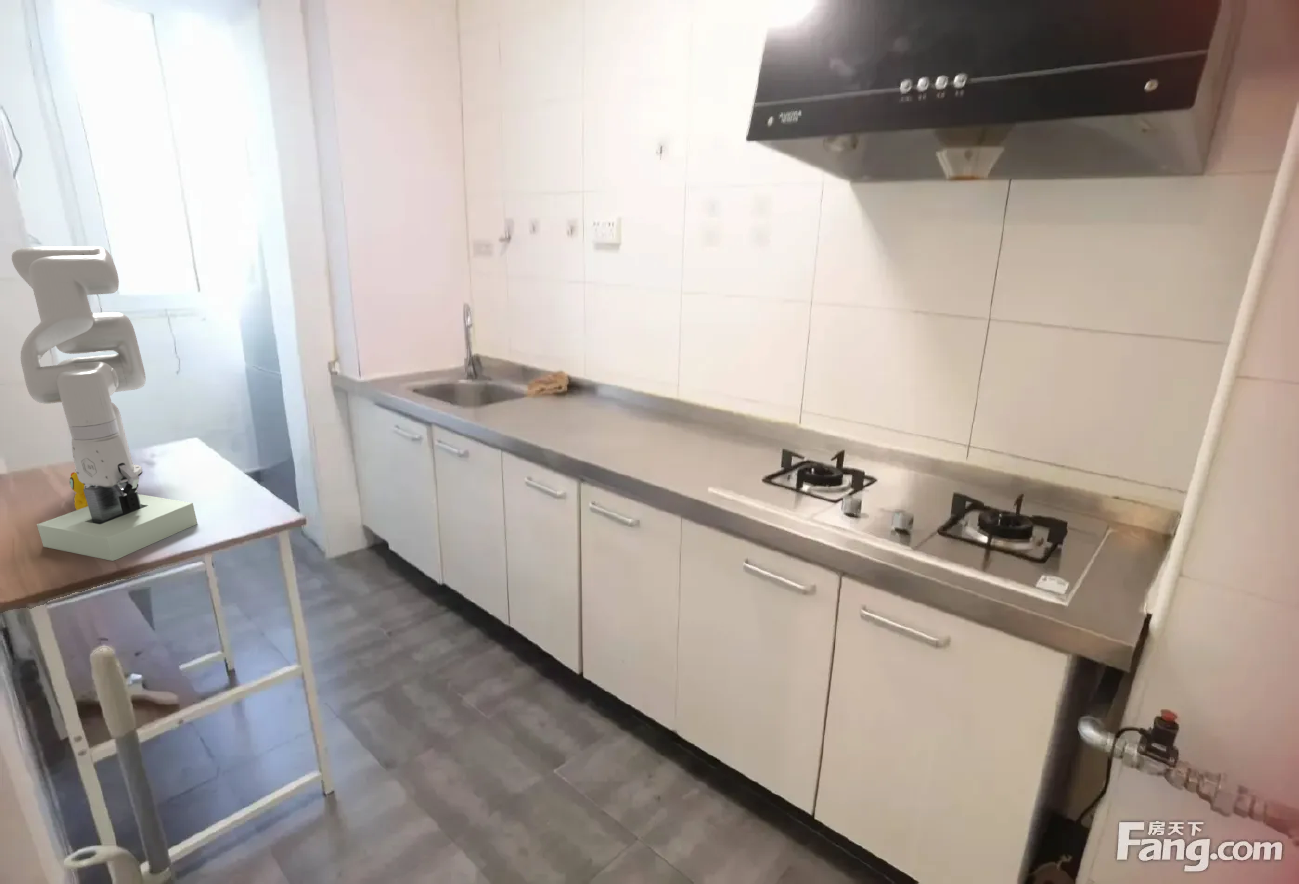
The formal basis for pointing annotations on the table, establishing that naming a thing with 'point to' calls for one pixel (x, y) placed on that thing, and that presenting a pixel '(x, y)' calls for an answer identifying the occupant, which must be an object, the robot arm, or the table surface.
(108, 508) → the brushed metal pillar
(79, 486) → the duckling
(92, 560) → the table surface
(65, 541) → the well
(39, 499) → the table surface
